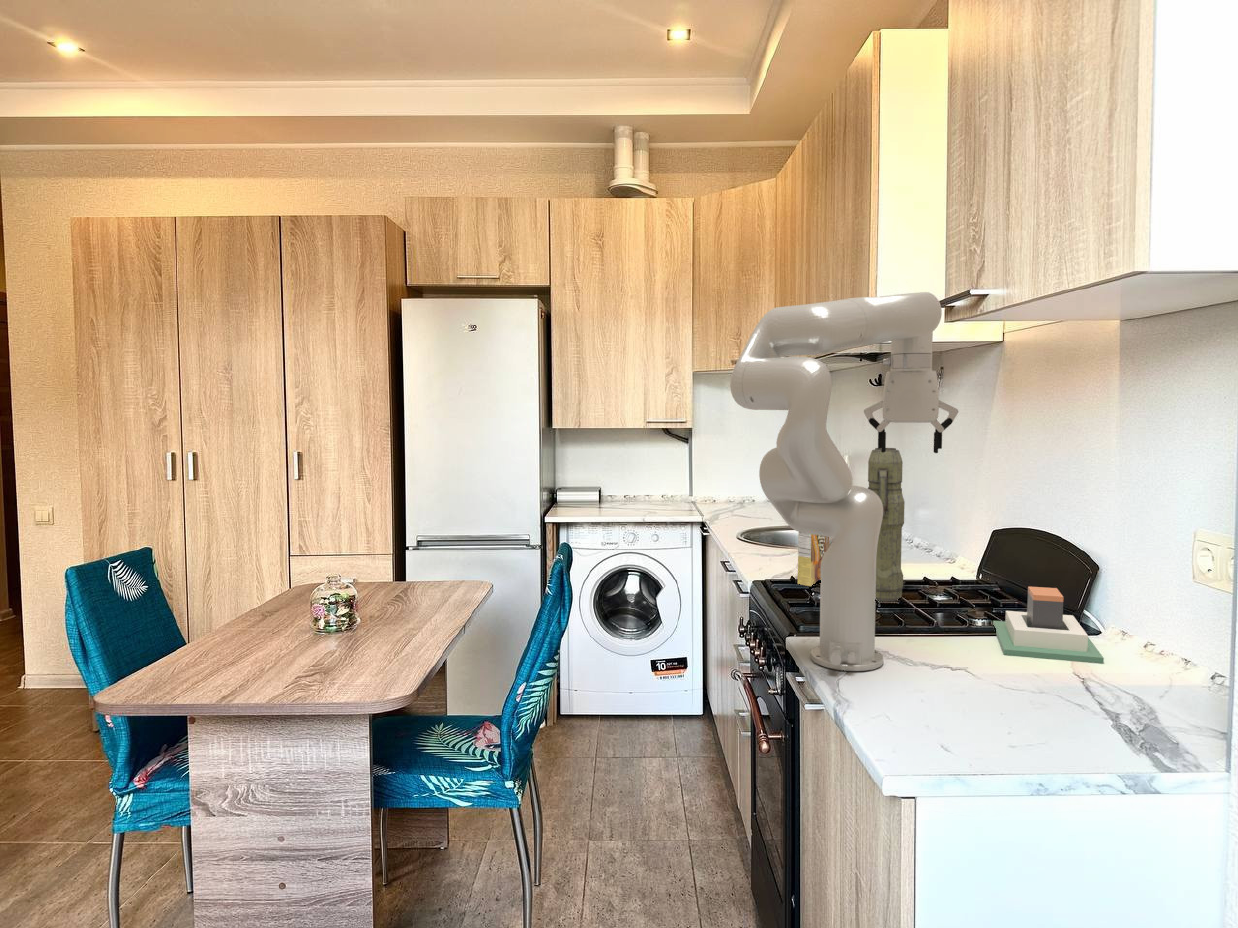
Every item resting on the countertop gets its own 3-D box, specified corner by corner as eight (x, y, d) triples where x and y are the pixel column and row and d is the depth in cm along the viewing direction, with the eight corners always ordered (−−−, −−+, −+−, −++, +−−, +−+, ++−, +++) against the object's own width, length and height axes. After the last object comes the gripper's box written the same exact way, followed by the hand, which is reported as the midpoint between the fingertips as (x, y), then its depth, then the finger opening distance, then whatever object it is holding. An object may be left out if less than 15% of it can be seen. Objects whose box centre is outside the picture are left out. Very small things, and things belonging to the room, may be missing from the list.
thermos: (901, 592, 197) (904, 447, 194) (903, 604, 186) (907, 450, 183) (863, 589, 200) (865, 446, 197) (863, 601, 188) (865, 449, 185)
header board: (1103, 663, 145) (1104, 641, 144) (1003, 654, 150) (1004, 633, 150) (1080, 631, 163) (1081, 612, 163) (992, 625, 169) (993, 606, 168)
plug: (1061, 644, 152) (1063, 596, 152) (1031, 641, 154) (1033, 594, 153) (1055, 633, 159) (1056, 588, 158) (1026, 631, 161) (1028, 586, 160)
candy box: (814, 578, 212) (815, 519, 211) (829, 580, 210) (830, 521, 208) (796, 584, 206) (797, 524, 205) (811, 587, 203) (812, 525, 202)
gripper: (863, 364, 158) (862, 453, 159) (960, 362, 152) (958, 454, 153) (865, 365, 165) (864, 450, 166) (958, 363, 159) (956, 451, 161)
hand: (909, 452), depth 160 cm, fingers open, 9 cm apart
